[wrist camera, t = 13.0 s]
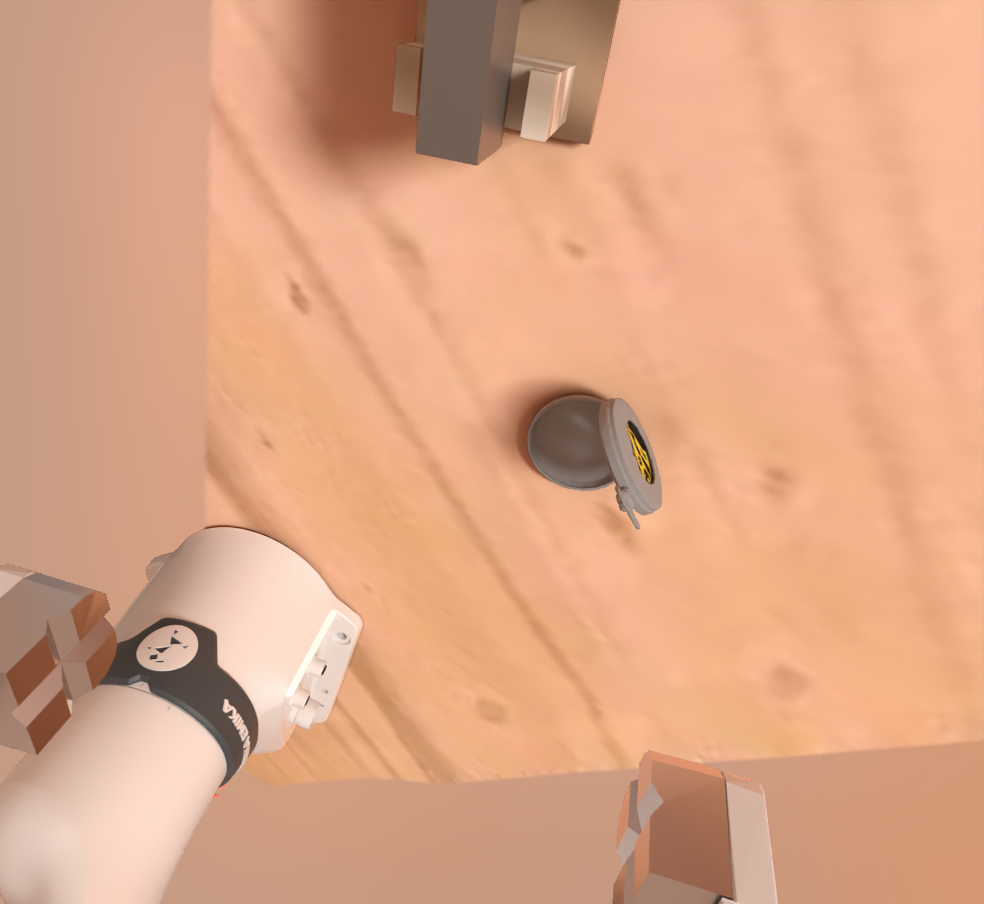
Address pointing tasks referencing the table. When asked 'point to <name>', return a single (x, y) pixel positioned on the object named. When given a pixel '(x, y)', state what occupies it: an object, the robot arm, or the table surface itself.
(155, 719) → the robot arm
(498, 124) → the long grey beam
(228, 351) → the table surface
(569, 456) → the pocket watch
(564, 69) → the display stand
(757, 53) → the table surface
